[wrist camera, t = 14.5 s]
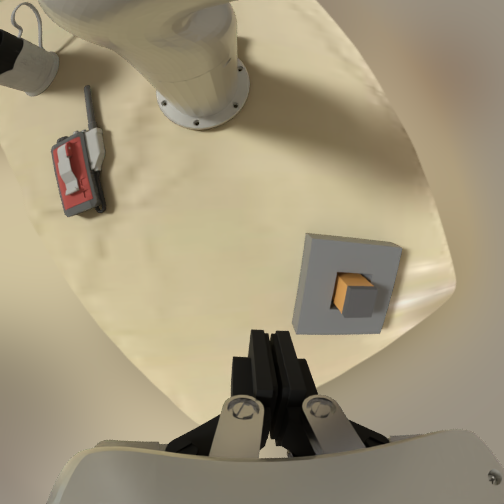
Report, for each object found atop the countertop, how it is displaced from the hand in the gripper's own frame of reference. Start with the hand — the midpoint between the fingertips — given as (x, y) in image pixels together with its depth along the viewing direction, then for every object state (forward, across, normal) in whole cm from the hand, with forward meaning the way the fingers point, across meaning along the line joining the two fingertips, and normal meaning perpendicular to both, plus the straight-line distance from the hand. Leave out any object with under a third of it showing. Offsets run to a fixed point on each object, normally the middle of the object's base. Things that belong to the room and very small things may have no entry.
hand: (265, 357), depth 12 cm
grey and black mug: (+27, +38, -29) cm, 55 cm away
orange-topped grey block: (+27, -15, +6) cm, 31 cm away
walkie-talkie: (+28, +26, -11) cm, 40 cm away
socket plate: (+27, -15, +6) cm, 32 cm away
